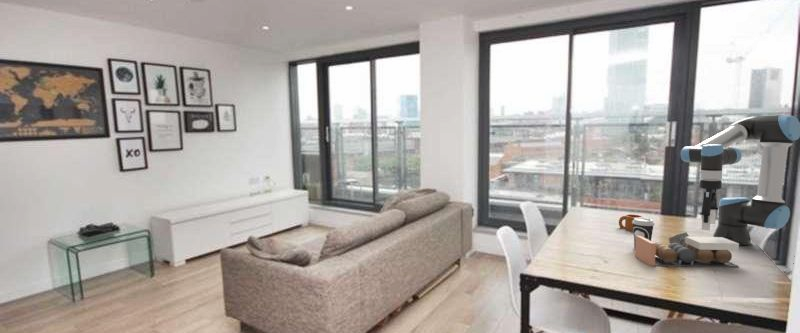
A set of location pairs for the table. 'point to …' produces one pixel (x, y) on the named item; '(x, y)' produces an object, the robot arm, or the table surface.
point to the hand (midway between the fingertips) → (708, 226)
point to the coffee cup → (643, 228)
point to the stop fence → (645, 250)
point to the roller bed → (692, 263)
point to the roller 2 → (683, 252)
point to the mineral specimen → (679, 239)
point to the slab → (711, 243)
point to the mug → (628, 221)
